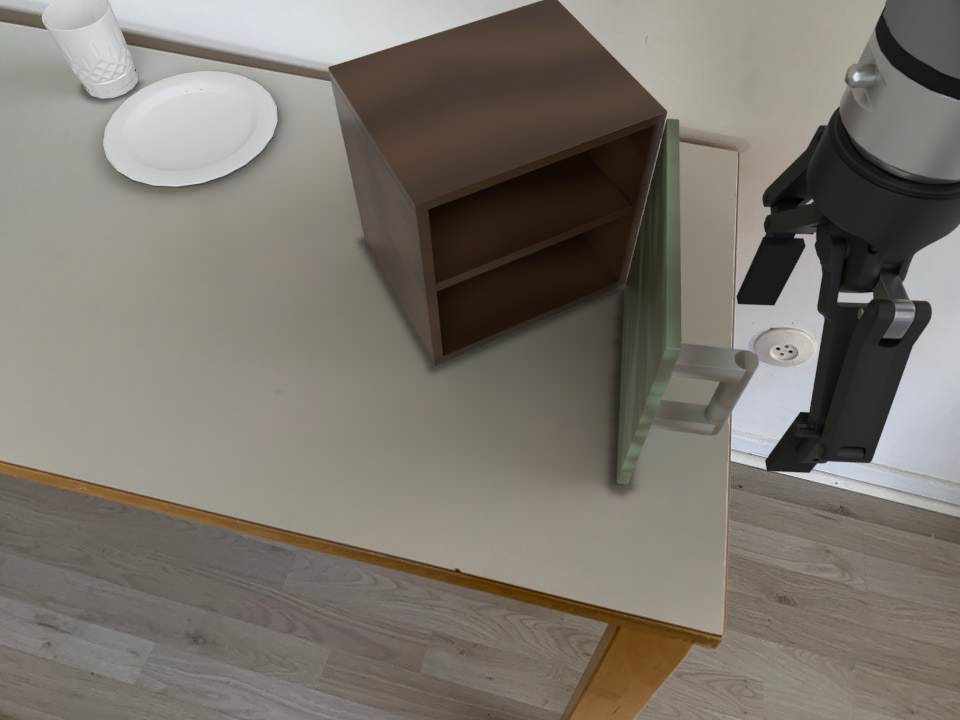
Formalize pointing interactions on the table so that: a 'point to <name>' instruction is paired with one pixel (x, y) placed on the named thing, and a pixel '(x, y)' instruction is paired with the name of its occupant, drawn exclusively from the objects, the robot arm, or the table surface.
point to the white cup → (92, 45)
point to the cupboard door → (667, 329)
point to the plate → (190, 129)
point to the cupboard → (497, 171)
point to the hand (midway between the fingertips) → (769, 378)
